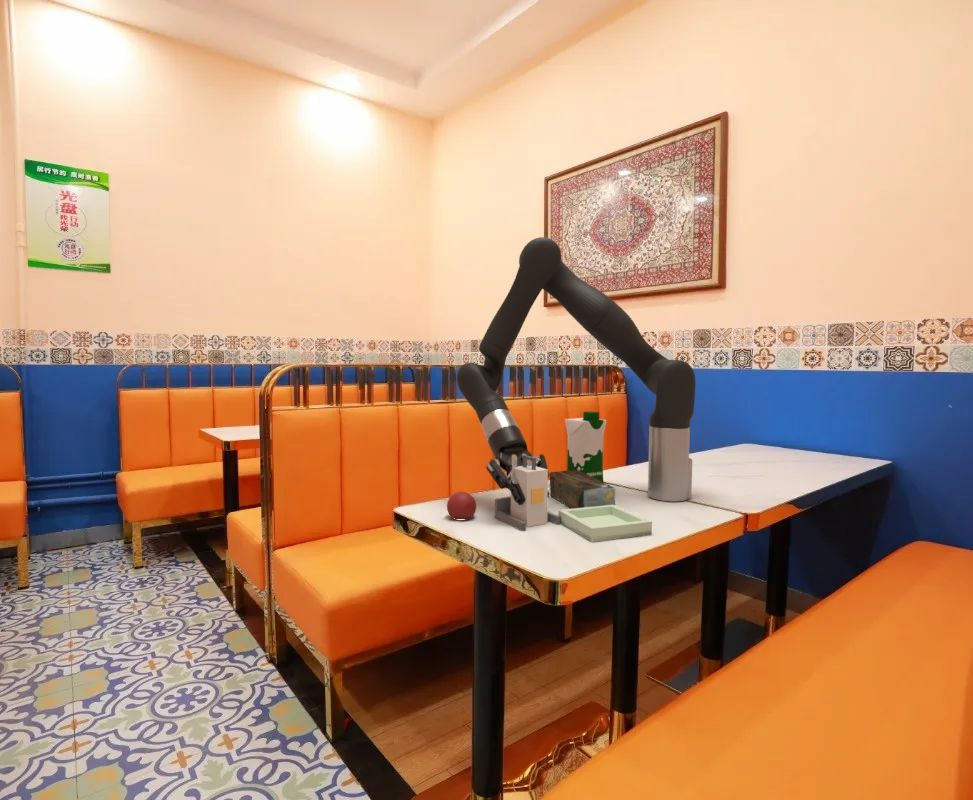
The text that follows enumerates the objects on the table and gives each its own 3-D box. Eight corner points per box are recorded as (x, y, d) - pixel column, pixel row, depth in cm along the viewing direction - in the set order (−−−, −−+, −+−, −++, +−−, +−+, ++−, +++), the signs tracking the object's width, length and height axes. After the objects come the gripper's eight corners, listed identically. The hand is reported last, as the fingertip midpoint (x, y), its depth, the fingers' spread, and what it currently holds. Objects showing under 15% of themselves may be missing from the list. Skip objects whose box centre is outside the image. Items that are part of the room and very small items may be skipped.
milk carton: (583, 493, 133) (584, 413, 132) (560, 486, 141) (560, 410, 139) (609, 489, 138) (610, 412, 137) (584, 482, 146) (585, 409, 144)
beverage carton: (582, 517, 113) (582, 486, 113) (548, 496, 132) (548, 469, 131) (616, 514, 115) (616, 484, 115) (577, 494, 134) (577, 468, 133)
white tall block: (530, 516, 113) (531, 453, 112) (547, 523, 108) (548, 458, 107) (510, 519, 111) (510, 455, 110) (527, 527, 105) (527, 460, 105)
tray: (613, 516, 113) (613, 504, 113) (651, 534, 101) (651, 521, 101) (558, 522, 109) (558, 510, 109) (591, 542, 97) (591, 528, 97)
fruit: (451, 531, 110) (459, 502, 106) (441, 511, 114) (449, 483, 110) (477, 526, 112) (487, 498, 108) (467, 507, 117) (475, 480, 113)
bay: (531, 511, 117) (531, 493, 116) (560, 523, 108) (560, 504, 107) (494, 517, 112) (495, 498, 112) (522, 530, 103) (522, 510, 103)
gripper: (480, 426, 111) (511, 495, 101) (537, 422, 118) (571, 486, 109) (468, 447, 116) (497, 515, 106) (523, 443, 123) (554, 506, 114)
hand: (534, 500), depth 108 cm, fingers closed on white tall block, 5 cm apart
